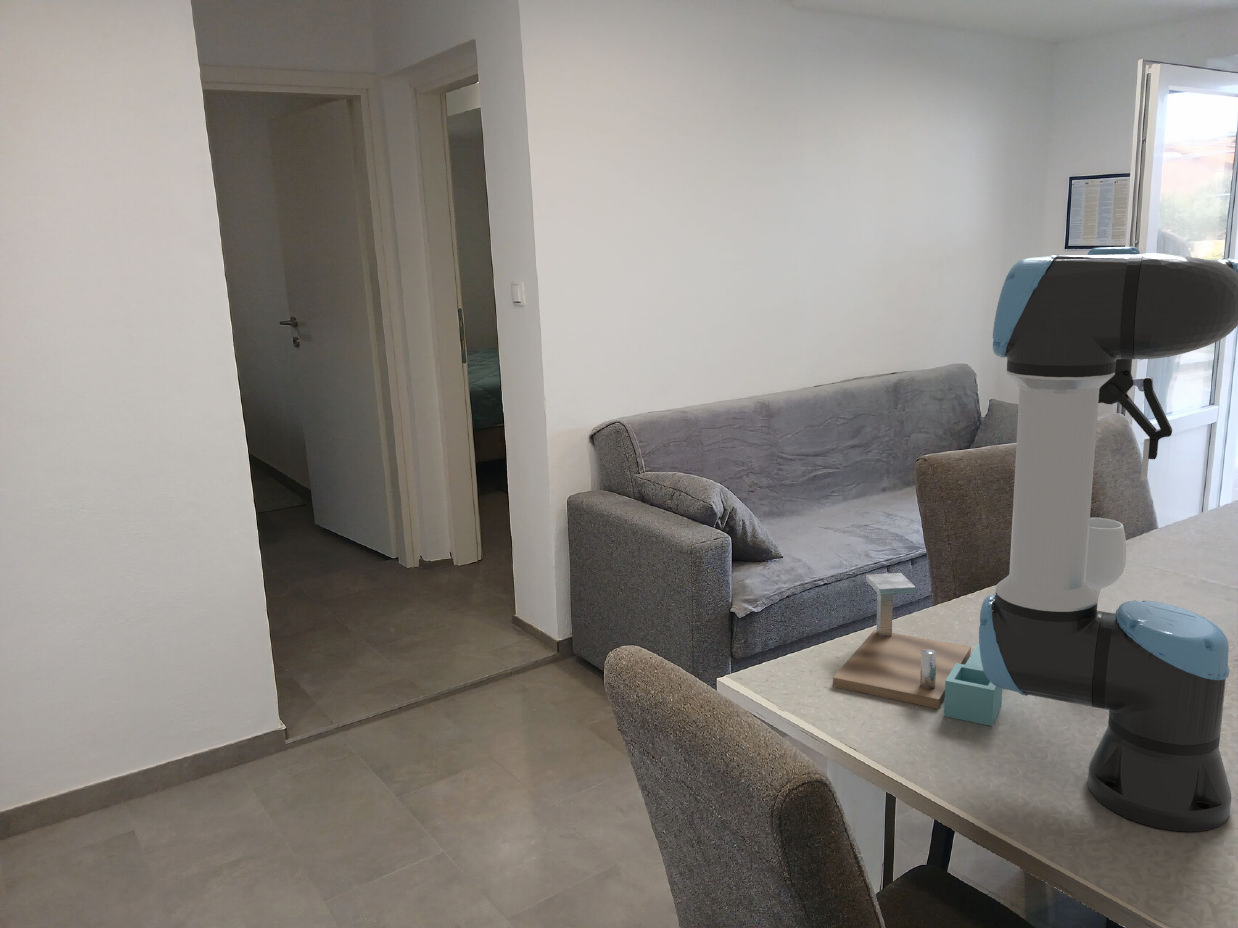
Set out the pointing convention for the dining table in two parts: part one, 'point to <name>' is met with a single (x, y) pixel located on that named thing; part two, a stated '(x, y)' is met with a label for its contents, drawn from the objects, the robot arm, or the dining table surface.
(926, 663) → the cylinder
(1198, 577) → the dining table surface
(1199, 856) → the dining table surface
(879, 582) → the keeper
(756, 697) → the dining table surface
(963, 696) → the link
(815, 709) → the dining table surface
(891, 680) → the board
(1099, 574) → the wineglass
